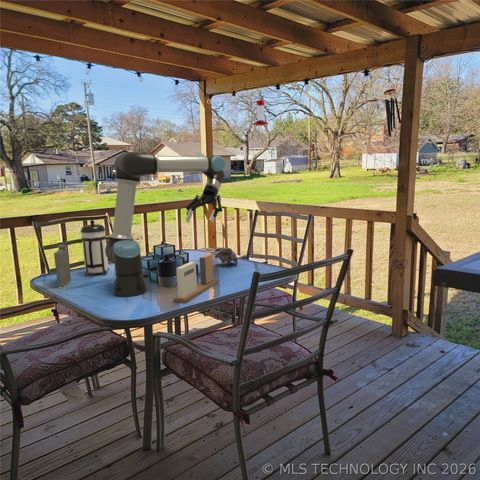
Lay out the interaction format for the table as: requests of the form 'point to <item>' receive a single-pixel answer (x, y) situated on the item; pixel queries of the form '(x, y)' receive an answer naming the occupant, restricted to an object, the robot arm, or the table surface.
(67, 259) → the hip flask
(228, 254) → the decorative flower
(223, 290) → the table surface
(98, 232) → the coffee press
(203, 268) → the orange book
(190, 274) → the ticket holder
